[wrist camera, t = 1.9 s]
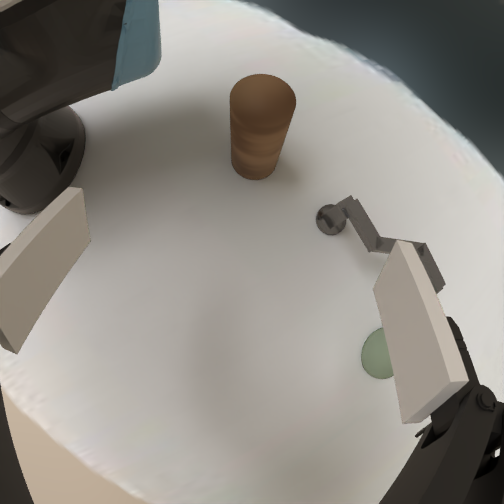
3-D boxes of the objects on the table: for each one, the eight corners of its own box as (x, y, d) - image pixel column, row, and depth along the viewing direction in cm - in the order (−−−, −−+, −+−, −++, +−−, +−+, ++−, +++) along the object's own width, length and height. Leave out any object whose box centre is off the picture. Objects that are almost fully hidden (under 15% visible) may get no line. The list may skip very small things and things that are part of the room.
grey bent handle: (306, 228, 33) (324, 213, 26) (326, 200, 34) (347, 179, 27) (408, 306, 33) (443, 309, 26) (423, 277, 33) (460, 275, 26)
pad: (352, 347, 32) (353, 347, 32) (394, 316, 33) (395, 316, 32) (374, 388, 32) (376, 389, 31) (414, 357, 32) (416, 357, 32)
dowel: (223, 151, 34) (217, 89, 22) (261, 131, 34) (273, 66, 22) (246, 188, 33) (251, 137, 21) (285, 166, 34) (308, 110, 22)
